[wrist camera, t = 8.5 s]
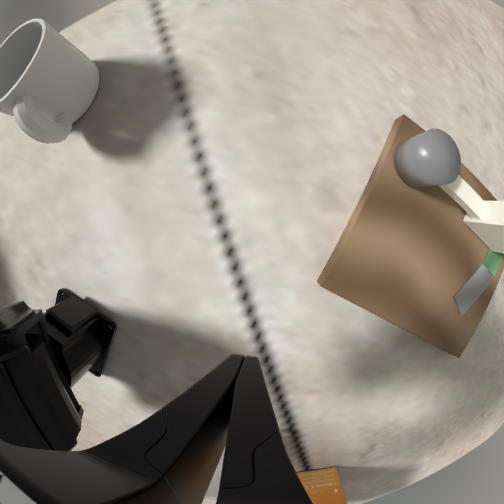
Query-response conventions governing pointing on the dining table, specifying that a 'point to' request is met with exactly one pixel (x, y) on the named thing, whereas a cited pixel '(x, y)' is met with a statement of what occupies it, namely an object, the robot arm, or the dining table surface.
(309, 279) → the dining table surface
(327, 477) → the small box
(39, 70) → the cup
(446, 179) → the lever
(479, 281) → the brown flat panel
